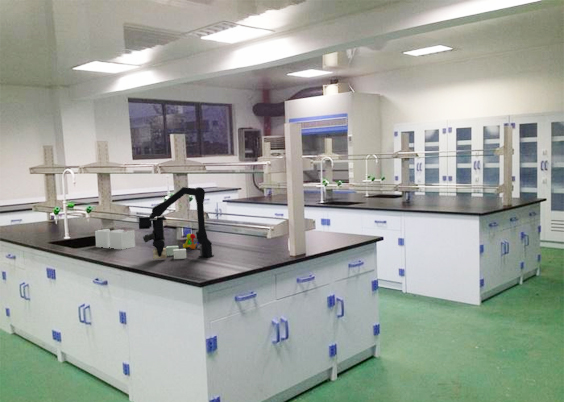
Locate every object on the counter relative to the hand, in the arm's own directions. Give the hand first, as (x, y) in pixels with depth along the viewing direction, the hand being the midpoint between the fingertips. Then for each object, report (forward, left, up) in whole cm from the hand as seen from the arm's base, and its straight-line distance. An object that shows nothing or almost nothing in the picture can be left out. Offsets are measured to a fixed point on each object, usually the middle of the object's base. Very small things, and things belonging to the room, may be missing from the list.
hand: (159, 255), depth 277 cm
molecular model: (+15, -35, -3) cm, 38 cm away
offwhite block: (-5, -10, -3) cm, 11 cm away
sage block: (+7, -14, -3) cm, 16 cm away
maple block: (0, 0, -1) cm, 1 cm away
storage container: (+64, -11, -3) cm, 64 cm away
